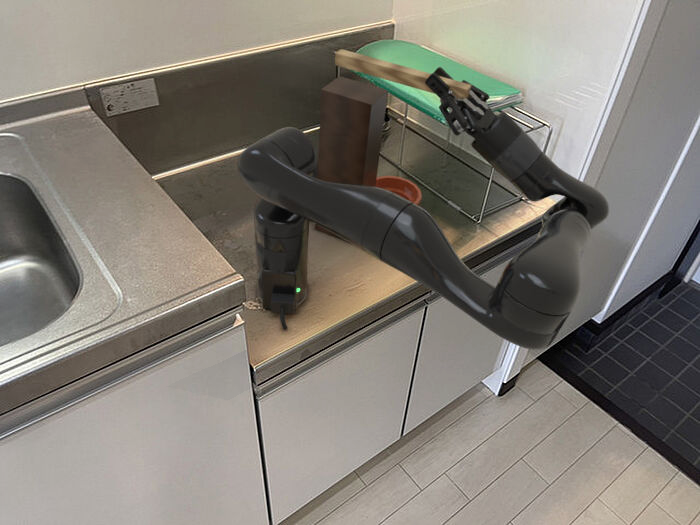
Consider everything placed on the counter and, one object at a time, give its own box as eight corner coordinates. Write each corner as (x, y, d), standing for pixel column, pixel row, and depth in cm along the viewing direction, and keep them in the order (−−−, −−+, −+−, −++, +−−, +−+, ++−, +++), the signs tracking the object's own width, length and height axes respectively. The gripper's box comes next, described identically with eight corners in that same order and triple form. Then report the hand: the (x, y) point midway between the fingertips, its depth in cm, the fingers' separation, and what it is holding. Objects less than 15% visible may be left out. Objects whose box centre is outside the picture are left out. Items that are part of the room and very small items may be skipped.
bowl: (418, 232, 120) (423, 211, 116) (361, 228, 120) (364, 206, 116) (415, 199, 129) (419, 178, 125) (363, 194, 129) (365, 173, 125)
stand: (370, 227, 120) (388, 90, 98) (355, 245, 115) (371, 104, 94) (330, 212, 123) (339, 76, 101) (315, 229, 118) (321, 89, 97)
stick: (468, 97, 90) (471, 84, 88) (464, 102, 88) (467, 89, 87) (340, 61, 97) (341, 48, 95) (334, 65, 95) (335, 52, 94)
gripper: (478, 179, 89) (402, 105, 87) (501, 143, 98) (432, 75, 97) (512, 151, 83) (431, 71, 82) (532, 116, 93) (460, 44, 91)
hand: (432, 74), depth 89 cm, fingers closed on stick, 2 cm apart
